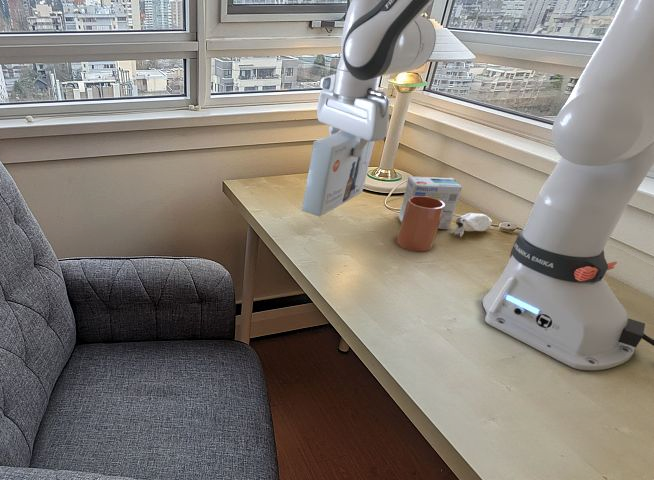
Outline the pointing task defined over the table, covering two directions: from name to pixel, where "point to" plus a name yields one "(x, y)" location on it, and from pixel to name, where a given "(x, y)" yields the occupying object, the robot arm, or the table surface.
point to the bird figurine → (472, 223)
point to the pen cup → (420, 223)
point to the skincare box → (335, 173)
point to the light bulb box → (434, 195)
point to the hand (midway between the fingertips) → (344, 151)
